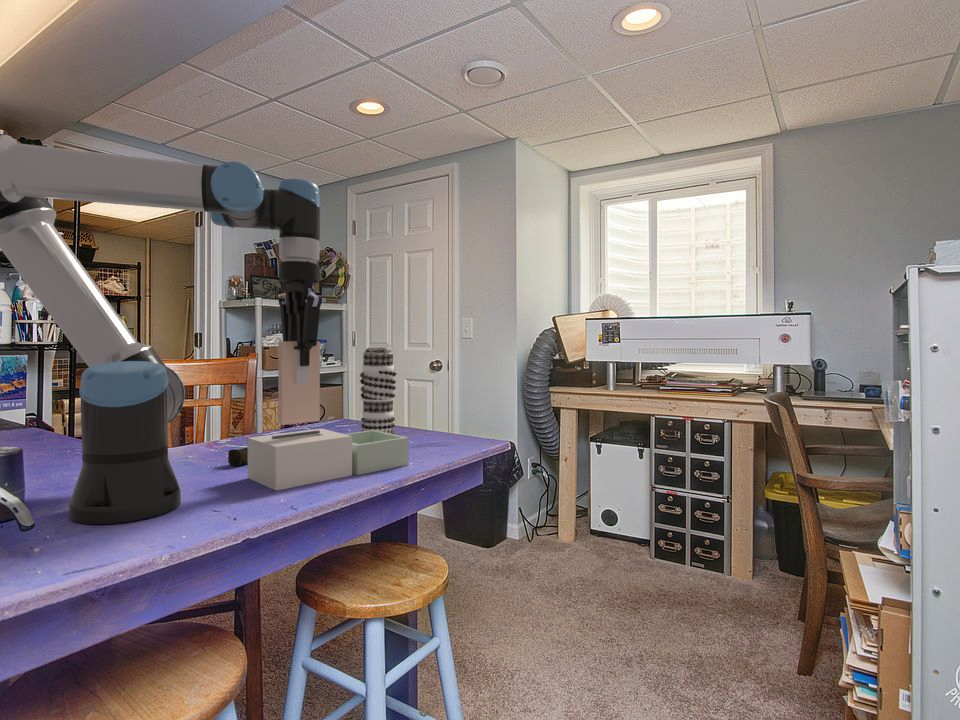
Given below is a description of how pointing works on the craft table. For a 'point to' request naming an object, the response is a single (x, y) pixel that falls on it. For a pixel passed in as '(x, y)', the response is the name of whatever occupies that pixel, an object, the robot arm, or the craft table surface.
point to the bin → (378, 451)
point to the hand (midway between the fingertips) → (299, 382)
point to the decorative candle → (378, 390)
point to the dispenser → (299, 458)
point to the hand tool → (238, 457)
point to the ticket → (297, 387)
